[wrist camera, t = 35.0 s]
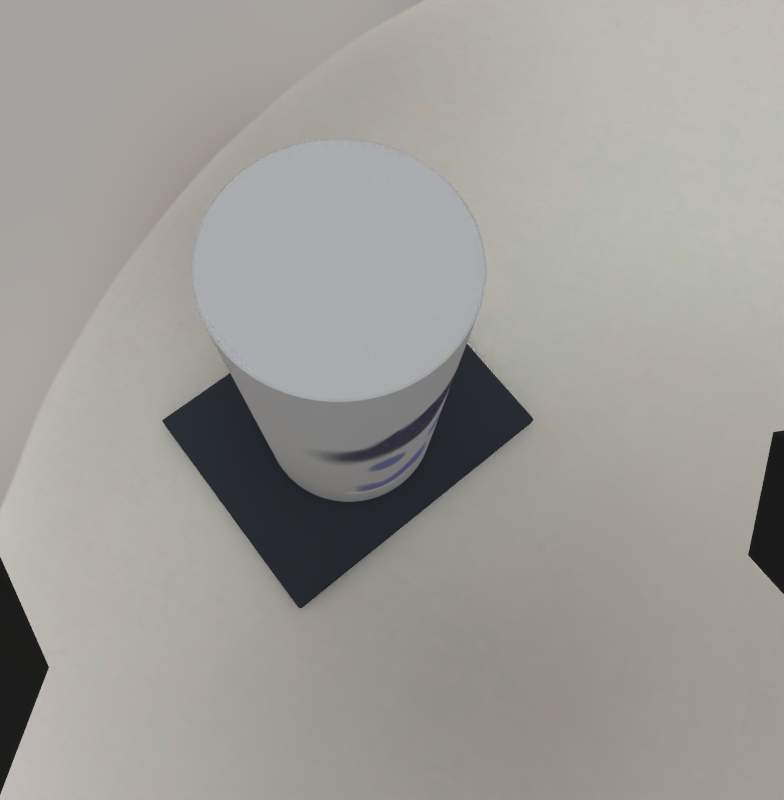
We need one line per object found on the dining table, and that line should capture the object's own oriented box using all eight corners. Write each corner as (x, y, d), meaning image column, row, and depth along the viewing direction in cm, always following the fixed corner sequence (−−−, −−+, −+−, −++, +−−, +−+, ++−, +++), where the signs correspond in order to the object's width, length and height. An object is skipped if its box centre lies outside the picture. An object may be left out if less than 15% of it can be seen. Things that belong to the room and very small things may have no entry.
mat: (392, 265, 47) (393, 259, 46) (531, 422, 44) (534, 419, 43) (165, 423, 43) (161, 420, 42) (300, 608, 40) (299, 608, 39)
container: (376, 534, 40) (390, 457, 21) (235, 446, 42) (127, 300, 23) (460, 396, 43) (538, 219, 24) (325, 318, 44) (297, 90, 25)
